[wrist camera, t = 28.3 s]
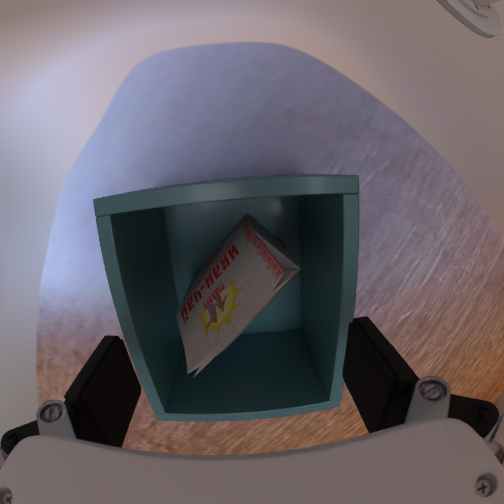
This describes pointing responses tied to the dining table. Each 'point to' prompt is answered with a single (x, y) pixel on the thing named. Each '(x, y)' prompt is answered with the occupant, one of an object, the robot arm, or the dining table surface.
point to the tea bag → (232, 290)
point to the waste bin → (266, 323)
